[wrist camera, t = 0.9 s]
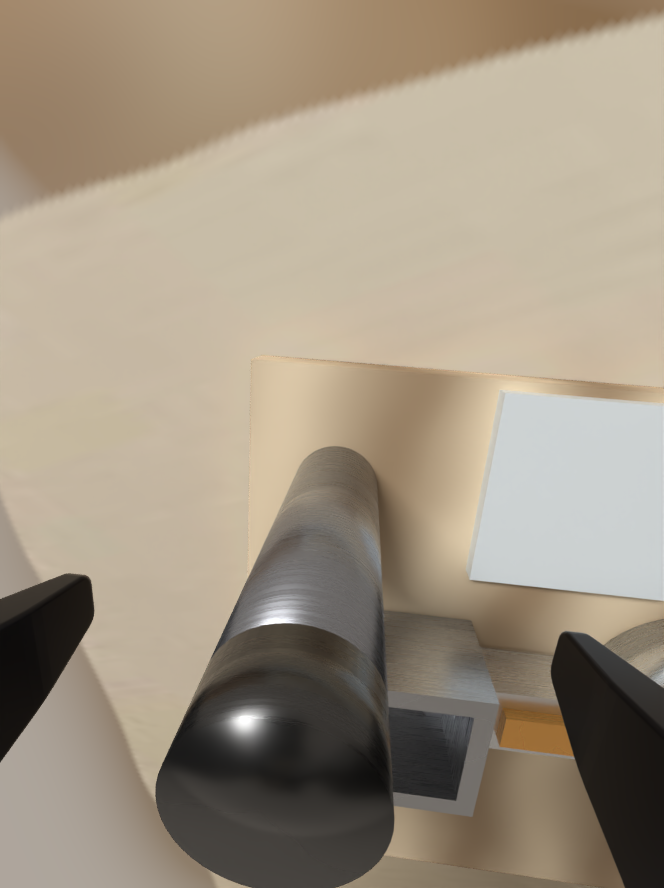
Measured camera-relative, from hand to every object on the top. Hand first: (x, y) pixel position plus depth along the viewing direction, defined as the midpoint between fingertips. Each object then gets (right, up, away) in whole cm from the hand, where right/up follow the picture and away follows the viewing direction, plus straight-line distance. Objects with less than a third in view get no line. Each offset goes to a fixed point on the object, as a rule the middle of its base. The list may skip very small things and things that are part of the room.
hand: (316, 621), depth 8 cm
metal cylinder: (0, +2, +6) cm, 7 cm away
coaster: (+8, +2, +6) cm, 10 cm away
